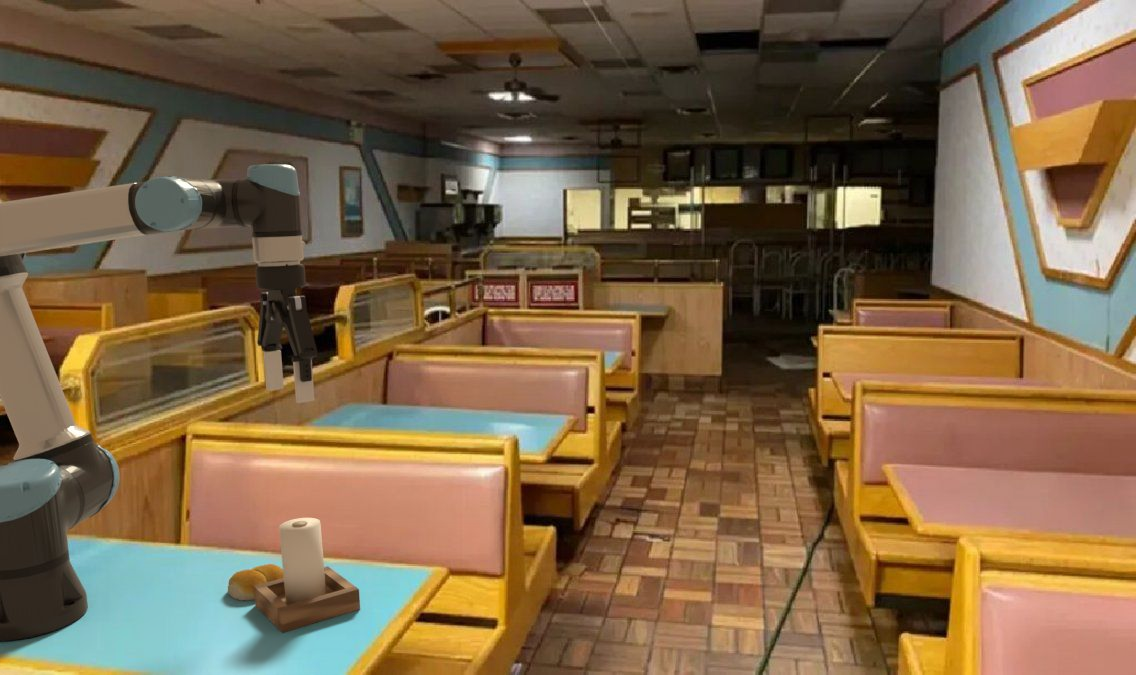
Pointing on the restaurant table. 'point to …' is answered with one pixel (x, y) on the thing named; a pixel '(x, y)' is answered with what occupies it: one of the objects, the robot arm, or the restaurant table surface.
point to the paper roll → (302, 559)
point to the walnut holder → (306, 602)
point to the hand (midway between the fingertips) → (289, 395)
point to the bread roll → (252, 580)
